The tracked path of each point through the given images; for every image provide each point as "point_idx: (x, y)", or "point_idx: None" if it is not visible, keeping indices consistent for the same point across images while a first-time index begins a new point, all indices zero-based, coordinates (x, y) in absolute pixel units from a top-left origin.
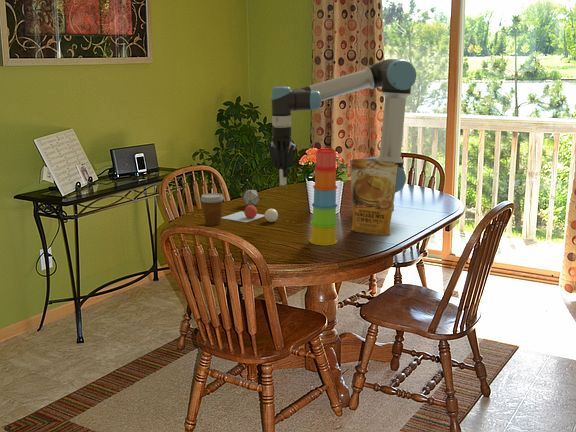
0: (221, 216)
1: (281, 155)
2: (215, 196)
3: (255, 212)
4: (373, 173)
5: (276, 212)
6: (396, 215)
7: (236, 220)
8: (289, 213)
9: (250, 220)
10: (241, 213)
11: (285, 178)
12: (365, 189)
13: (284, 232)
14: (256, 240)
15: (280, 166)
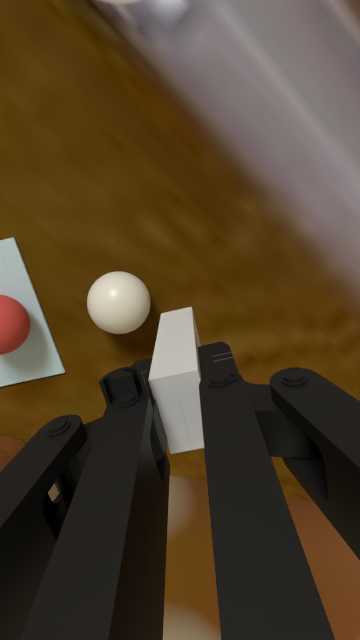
0: (11, 458)
1: (137, 616)
2: None
3: (26, 320)
4: None
5: (140, 295)
6: None
7: (18, 382)
8: (40, 115)
9: (53, 346)
10: None
11: (197, 340)
12: None
13: (287, 363)
14: (286, 480)
15: (158, 451)
